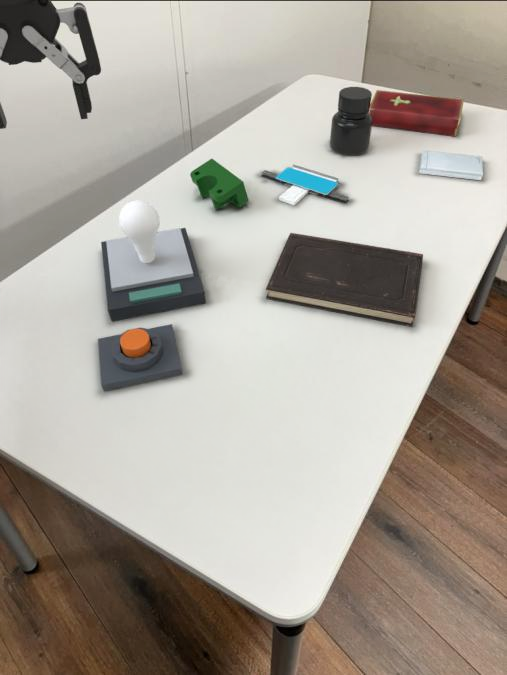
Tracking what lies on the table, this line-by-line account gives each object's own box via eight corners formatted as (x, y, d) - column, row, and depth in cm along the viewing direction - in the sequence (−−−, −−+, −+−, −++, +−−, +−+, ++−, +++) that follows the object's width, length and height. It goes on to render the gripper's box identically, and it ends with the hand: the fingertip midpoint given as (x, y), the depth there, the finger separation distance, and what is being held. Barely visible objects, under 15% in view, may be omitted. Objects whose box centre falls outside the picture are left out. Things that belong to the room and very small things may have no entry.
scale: (111, 321, 79) (106, 306, 77) (104, 253, 91) (99, 237, 89) (206, 303, 82) (204, 287, 79) (187, 238, 94) (184, 223, 91)
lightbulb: (124, 257, 85) (109, 199, 77) (159, 246, 87) (148, 188, 79) (136, 278, 81) (122, 219, 73) (172, 266, 83) (162, 208, 75)
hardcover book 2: (455, 137, 118) (461, 119, 115) (365, 126, 123) (368, 108, 120) (459, 115, 126) (464, 98, 123) (374, 105, 131) (376, 88, 128)
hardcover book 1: (412, 327, 77) (415, 316, 75) (266, 298, 82) (265, 288, 80) (420, 262, 87) (423, 252, 86) (290, 241, 92) (290, 230, 91)
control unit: (103, 391, 70) (98, 378, 68) (100, 345, 76) (95, 331, 74) (182, 374, 72) (180, 360, 70) (173, 330, 78) (170, 316, 76)
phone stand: (245, 188, 105) (244, 181, 104) (276, 164, 112) (276, 157, 110) (331, 218, 97) (331, 210, 96) (359, 190, 104) (360, 182, 102)
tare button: (123, 360, 70) (121, 352, 69) (121, 340, 73) (118, 331, 72) (152, 354, 71) (150, 346, 70) (149, 334, 74) (147, 326, 72)
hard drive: (482, 155, 109) (422, 148, 112) (483, 174, 104) (420, 166, 106) (480, 162, 110) (421, 155, 113) (480, 181, 105) (419, 174, 108)
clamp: (206, 212, 107) (184, 173, 102) (229, 197, 108) (208, 158, 103) (229, 220, 97) (206, 177, 92) (253, 203, 98) (232, 159, 93)
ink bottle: (370, 139, 119) (378, 85, 110) (370, 157, 113) (379, 102, 104) (328, 137, 120) (332, 83, 111) (326, 155, 114) (331, 100, 105)
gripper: (71, -78, 48) (108, 101, 59) (-95, -70, 45) (-22, 115, 57) (73, -65, 43) (113, 128, 54) (-113, -55, 40) (-30, 144, 52)
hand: (44, 121), depth 56 cm, fingers open, 8 cm apart
